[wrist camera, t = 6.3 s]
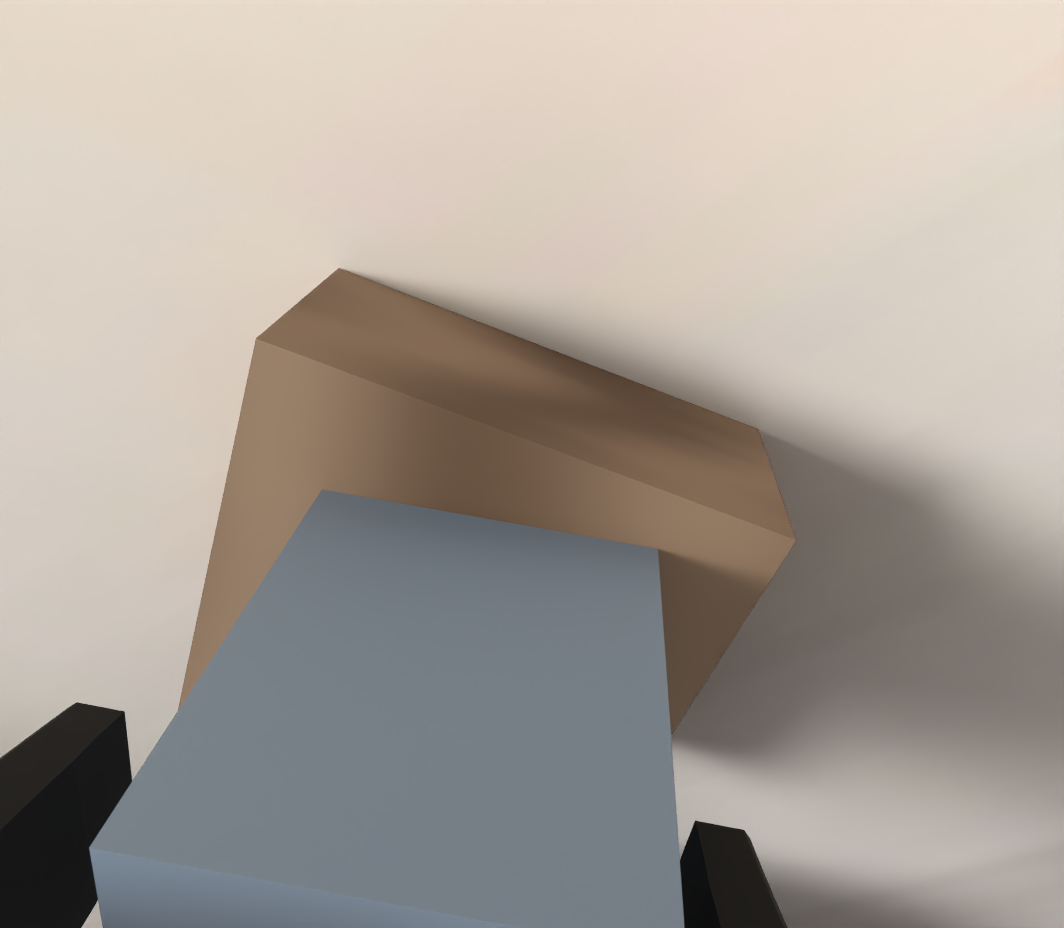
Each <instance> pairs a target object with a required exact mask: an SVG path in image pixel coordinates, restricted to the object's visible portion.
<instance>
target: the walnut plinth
mask: <svg viewBox="0 0 1064 928" xmlns="http://www.w3.org/2000/svg"><path fill="white" fill-rule="evenodd" d="M321 490H328V491H334V492H339V493H345V494H351V495H356V496H362V497H368V498H373V499H379V500H384V501H390V502H396V503H401V504H407V505H413V506H418V507H424V508H430V509H435V510H441V511H447V512H452V513H458V514H464V515H469V516H475V517H480V518H486V519H492V520H497V521H503V522H509V523H514V524H520V525H526V526H531V527H537V528H543V529H548V530H554V531H560V532H565V533H571V534H576V535H582V536H588V537H593V538H599V539H605V540H610V541H616V542H622V543H627V544H633V545H639V546H644V547H650V548H656V549H658V558H659V572H660V586H661V600H662V615H663V629H664V643H665V657H666V672H667V686H668V700H669V714H670V729H671V735H672V733H673V732H674V730H675V729H676V727H677V726H678V724H679V722H680V721H681V719H682V718H683V716H684V715H685V713H686V712H687V710H688V708H689V707H690V705H691V704H692V702H693V701H694V699H695V697H696V696H697V694H698V693H699V691H700V690H701V688H702V687H703V685H704V683H705V682H706V680H707V679H708V677H709V676H710V674H711V673H712V671H713V669H714V668H715V666H716V665H717V663H718V662H719V660H720V658H721V657H722V655H723V654H724V652H725V651H726V649H727V648H728V646H729V644H730V643H731V641H732V640H733V638H734V637H735V635H736V634H737V632H738V630H739V629H740V627H741V626H742V624H743V623H744V621H745V619H746V618H747V616H748V615H749V613H750V612H751V610H752V609H753V607H754V605H755V604H756V602H757V601H758V599H759V598H760V596H761V595H762V593H763V591H764V590H765V588H766V587H767V585H768V584H769V582H770V580H771V579H772V577H773V576H774V574H775V573H776V571H777V570H778V568H779V566H780V565H781V563H782V562H783V560H784V559H785V557H786V556H787V554H788V552H789V551H790V549H791V548H792V546H793V545H794V543H795V541H796V538H795V535H794V532H793V529H792V526H791V523H790V520H789V517H788V514H787V511H786V509H785V506H784V503H783V500H782V497H781V494H780V491H779V488H778V485H777V482H776V479H775V477H774V474H773V471H772V468H771V465H770V462H769V459H768V456H767V453H766V450H765V447H764V445H763V442H762V439H761V436H760V433H759V430H758V429H756V428H754V427H751V426H748V425H746V424H743V423H741V422H738V421H735V420H733V419H730V418H727V417H725V416H722V415H720V414H717V413H714V412H712V411H709V410H707V409H704V408H701V407H699V406H696V405H694V404H691V403H688V402H686V401H683V400H681V399H678V398H675V397H673V396H670V395H668V394H665V393H662V392H660V391H657V390H655V389H652V388H649V387H647V386H644V385H642V384H639V383H636V382H634V381H631V380H629V379H626V378H623V377H621V376H618V375H616V374H613V373H610V372H608V371H605V370H603V369H600V368H597V367H595V366H592V365H589V364H587V363H584V362H582V361H579V360H576V359H574V358H571V357H569V356H566V355H563V354H561V353H558V352H556V351H553V350H550V349H548V348H545V347H543V346H540V345H537V344H535V343H532V342H530V341H527V340H524V339H522V338H519V337H517V336H514V335H511V334H509V333H506V332H504V331H501V330H498V329H496V328H493V327H491V326H488V325H485V324H483V323H480V322H478V321H475V320H472V319H470V318H467V317H465V316H462V315H459V314H457V313H454V312H451V311H449V310H446V309H444V308H441V307H438V306H436V305H433V304H431V303H428V302H425V301H423V300H420V299H418V298H415V297H412V296H410V295H407V294H405V293H402V292H399V291H397V290H394V289H392V288H389V287H386V286H384V285H381V284H379V283H376V282H373V281H371V280H368V279H366V278H363V277H360V276H358V275H355V274H353V273H350V272H347V271H345V270H342V269H340V268H338V269H337V270H336V271H335V272H334V273H333V274H331V275H330V276H329V277H328V278H327V279H325V280H324V281H323V282H322V283H321V284H320V285H318V286H317V287H316V288H315V289H314V290H313V291H311V292H310V293H309V294H308V295H307V296H305V297H304V298H303V299H302V300H301V301H300V302H298V303H297V304H296V305H295V306H294V307H293V308H291V309H290V310H289V311H288V312H287V313H285V314H284V315H283V316H282V317H281V318H280V319H278V320H277V321H276V322H275V323H274V324H272V325H271V326H270V327H269V328H268V329H267V330H265V331H264V332H263V333H262V334H261V335H260V336H258V337H257V338H256V341H255V346H254V350H253V355H252V360H251V365H250V369H249V374H248V379H247V384H246V389H245V393H244V398H243V403H242V408H241V412H240V417H239V422H238V427H237V431H236V436H235V441H234V446H233V450H232V455H231V460H230V465H229V470H228V474H227V479H226V484H225V489H224V493H223V498H222V503H221V508H220V512H219V517H218V522H217V527H216V531H215V536H214V541H213V546H212V551H211V555H210V560H209V565H208V570H207V574H206V579H205V584H204V589H203V593H202V598H201V603H200V608H199V612H198V617H197V622H196V627H195V632H194V636H193V641H192V646H191V651H190V655H189V660H188V665H187V670H186V674H185V679H184V684H183V689H182V693H181V698H180V703H179V708H178V710H179V709H180V707H181V706H182V704H183V702H184V701H185V699H186V698H187V696H188V695H189V693H190V692H191V690H192V689H193V687H194V686H195V684H196V682H197V681H198V679H199V678H200V676H201V675H202V673H203V672H204V670H205V669H206V667H207V666H208V664H209V662H210V661H211V659H212V658H213V656H214V655H215V653H216V652H217V650H218V649H219V647H220V646H221V644H222V642H223V641H224V639H225V638H226V636H227V635H228V633H229V632H230V630H231V629H232V627H233V625H234V624H235V622H236V621H237V619H238V618H239V616H240V615H241V613H242V612H243V610H244V609H245V607H246V605H247V604H248V602H249V601H250V599H251V598H252V596H253V595H254V593H255V592H256V590H257V589H258V587H259V585H260V584H261V582H262V581H263V579H264V578H265V576H266V575H267V573H268V572H269V570H270V569H271V567H272V565H273V564H274V562H275V561H276V559H277V558H278V556H279V555H280V553H281V552H282V550H283V548H284V547H285V545H286V544H287V542H288V541H289V539H290V538H291V536H292V535H293V533H294V532H295V530H296V528H297V527H298V525H299V524H300V522H301V521H302V519H303V518H304V516H305V515H306V513H307V512H308V510H309V508H310V507H311V505H312V504H313V502H314V501H315V499H316V498H317V496H318V495H319V493H320V492H321Z"/></svg>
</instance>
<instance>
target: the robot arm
mask: <svg viewBox="0 0 1064 928" xmlns="http://www.w3.org/2000/svg"><path fill="white" fill-rule="evenodd" d="M131 783H132V776H131V767H130V758H129V749H128V740H127V731H126V722H125V712H124V711H119V710H114V709H108V708H103V707H98V706H93V705H88V704H82V703H75V704H74V705H72V706H70V707H69V708H67V709H66V710H65V711H63V712H62V713H61V714H59V715H58V716H56V717H55V718H54V719H52V720H51V721H50V722H48V723H47V724H45V725H44V726H43V727H41V728H40V729H39V730H37V731H36V732H35V733H33V734H32V735H31V736H29V737H28V738H27V739H25V740H24V741H23V742H21V743H20V744H18V745H17V746H16V747H14V748H13V749H12V750H10V751H9V752H8V753H6V754H5V755H4V756H2V757H1V758H0V928H81V927H82V926H83V924H84V922H85V921H86V919H87V917H88V916H89V914H90V913H91V911H92V909H93V908H94V906H95V904H96V902H97V900H98V896H97V891H96V885H95V879H94V873H93V867H92V862H91V856H90V850H89V847H90V846H91V844H92V843H93V841H94V840H95V838H96V836H97V835H98V833H99V832H100V830H101V829H102V827H103V826H104V824H105V823H106V821H107V820H108V818H109V816H110V815H111V813H112V812H113V810H114V809H115V807H116V806H117V804H118V803H119V801H120V800H121V798H122V796H123V795H124V793H125V792H126V790H127V789H128V787H129V786H130V784H131ZM680 871H681V885H682V899H683V914H684V928H787V926H786V923H785V921H784V919H783V917H782V914H781V912H780V910H779V907H778V905H777V903H776V900H775V898H774V896H773V893H772V891H771V889H770V886H769V884H768V882H767V879H766V877H765V874H764V872H763V869H762V867H761V865H760V862H759V860H758V857H757V855H756V852H755V850H754V847H753V845H752V842H751V840H750V838H749V836H748V835H747V834H746V832H745V831H744V830H741V829H735V828H730V827H725V826H720V825H715V824H709V823H704V822H699V821H695V823H694V825H693V828H692V830H691V833H690V836H689V838H688V841H687V843H686V846H685V849H684V851H683V854H682V856H681V859H680Z"/></svg>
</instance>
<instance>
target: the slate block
mask: <svg viewBox="0 0 1064 928" xmlns="http://www.w3.org/2000/svg"><path fill="white" fill-rule="evenodd" d="M89 850H90V856H91V862H92V867H93V873H94V879H95V885H96V891H97V896H98V902H99V908H100V914H101V919H102V925H103V928H684V914H683V899H682V885H681V871H680V857H679V843H678V828H677V814H676V800H675V786H674V771H673V757H672V743H671V729H670V714H669V700H668V686H667V672H666V657H665V643H664V629H663V615H662V600H661V586H660V572H659V558H658V549H656V548H650V547H644V546H639V545H633V544H627V543H622V542H616V541H610V540H605V539H599V538H593V537H588V536H582V535H576V534H571V533H565V532H560V531H554V530H548V529H543V528H537V527H531V526H526V525H520V524H514V523H509V522H503V521H497V520H492V519H486V518H480V517H475V516H469V515H464V514H458V513H452V512H447V511H441V510H435V509H430V508H424V507H418V506H413V505H407V504H401V503H396V502H390V501H384V500H379V499H373V498H368V497H362V496H356V495H351V494H345V493H339V492H334V491H328V490H321V492H320V493H319V495H318V496H317V498H316V499H315V501H314V502H313V504H312V505H311V507H310V508H309V510H308V512H307V513H306V515H305V516H304V518H303V519H302V521H301V522H300V524H299V525H298V527H297V528H296V530H295V532H294V533H293V535H292V536H291V538H290V539H289V541H288V542H287V544H286V545H285V547H284V548H283V550H282V552H281V553H280V555H279V556H278V558H277V559H276V561H275V562H274V564H273V565H272V567H271V569H270V570H269V572H268V573H267V575H266V576H265V578H264V579H263V581H262V582H261V584H260V585H259V587H258V589H257V590H256V592H255V593H254V595H253V596H252V598H251V599H250V601H249V602H248V604H247V605H246V607H245V609H244V610H243V612H242V613H241V615H240V616H239V618H238V619H237V621H236V622H235V624H234V625H233V627H232V629H231V630H230V632H229V633H228V635H227V636H226V638H225V639H224V641H223V642H222V644H221V646H220V647H219V649H218V650H217V652H216V653H215V655H214V656H213V658H212V659H211V661H210V662H209V664H208V666H207V667H206V669H205V670H204V672H203V673H202V675H201V676H200V678H199V679H198V681H197V682H196V684H195V686H194V687H193V689H192V690H191V692H190V693H189V695H188V696H187V698H186V699H185V701H184V702H183V704H182V706H181V707H180V709H179V710H178V712H177V713H176V715H175V716H174V718H173V719H172V721H171V723H170V724H169V726H168V727H167V729H166V730H165V732H164V733H163V735H162V736H161V738H160V739H159V741H158V743H157V744H156V746H155V747H154V749H153V750H152V752H151V753H150V755H149V756H148V758H147V759H146V761H145V763H144V764H143V766H142V767H141V769H140V770H139V772H138V773H137V775H136V776H135V778H134V779H133V781H132V783H131V784H130V786H129V787H128V789H127V790H126V792H125V793H124V795H123V796H122V798H121V800H120V801H119V803H118V804H117V806H116V807H115V809H114V810H113V812H112V813H111V815H110V816H109V818H108V820H107V821H106V823H105V824H104V826H103V827H102V829H101V830H100V832H99V833H98V835H97V836H96V838H95V840H94V841H93V843H92V844H91V846H90V847H89Z"/></svg>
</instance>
